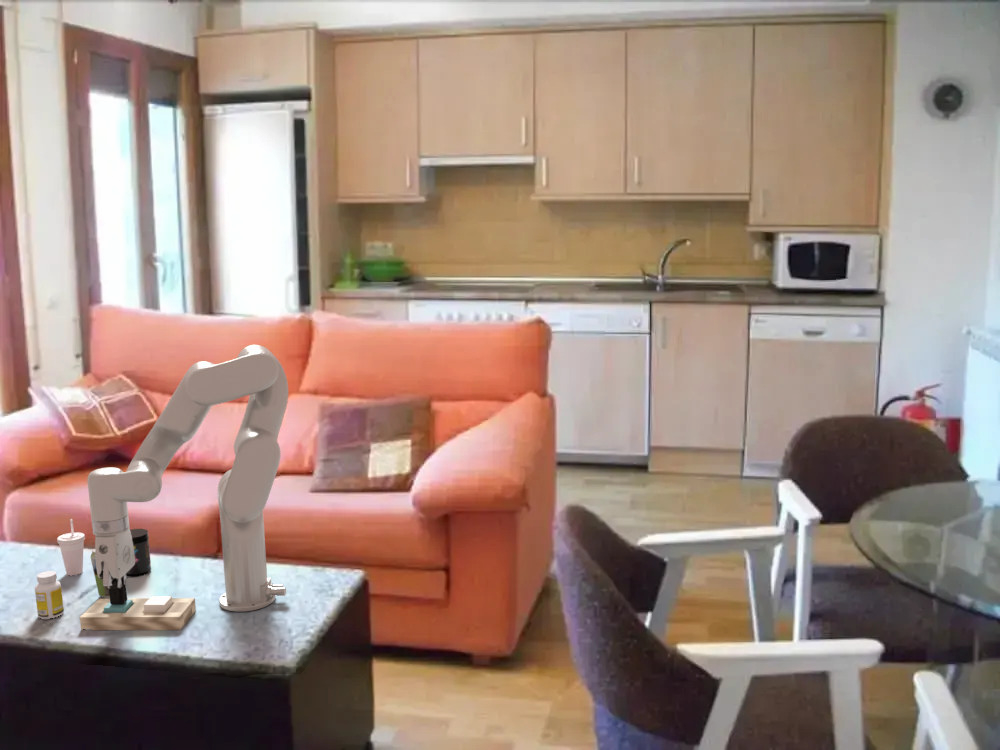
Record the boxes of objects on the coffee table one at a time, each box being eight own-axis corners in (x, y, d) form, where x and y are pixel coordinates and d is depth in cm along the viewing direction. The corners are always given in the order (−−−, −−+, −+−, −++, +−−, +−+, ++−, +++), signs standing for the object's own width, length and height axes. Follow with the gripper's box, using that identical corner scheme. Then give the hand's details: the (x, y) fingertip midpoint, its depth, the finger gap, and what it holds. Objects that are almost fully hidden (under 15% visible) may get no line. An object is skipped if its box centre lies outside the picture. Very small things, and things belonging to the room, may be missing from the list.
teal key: (133, 611, 223) (132, 599, 223) (125, 620, 219) (124, 607, 218) (113, 612, 223) (112, 599, 223) (104, 620, 219) (103, 608, 218)
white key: (172, 608, 223) (171, 596, 222) (165, 617, 218) (164, 604, 218) (152, 608, 223) (151, 596, 222) (144, 617, 219) (143, 604, 218)
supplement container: (122, 570, 251) (118, 531, 249) (150, 565, 253) (146, 527, 252) (124, 579, 245) (120, 539, 243) (153, 574, 247) (149, 535, 245)
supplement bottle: (64, 608, 228) (60, 568, 226) (63, 617, 223) (59, 576, 221) (38, 612, 226) (34, 571, 225) (37, 621, 221) (32, 580, 220)
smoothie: (93, 571, 251) (88, 518, 248) (71, 579, 245) (65, 525, 243) (78, 566, 254) (72, 514, 251) (55, 574, 249) (49, 521, 246)
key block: (195, 610, 226) (194, 598, 225) (180, 629, 216) (179, 616, 215) (100, 611, 226) (99, 598, 226) (81, 630, 217) (79, 617, 216)
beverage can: (116, 601, 232) (112, 552, 229) (88, 599, 233) (83, 551, 231) (131, 590, 238) (127, 543, 235) (104, 589, 239) (99, 541, 237)
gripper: (113, 536, 210) (122, 617, 213) (140, 513, 224) (148, 589, 228) (78, 536, 210) (87, 617, 213) (108, 513, 225) (116, 589, 228)
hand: (118, 602), depth 221 cm, fingers closed
